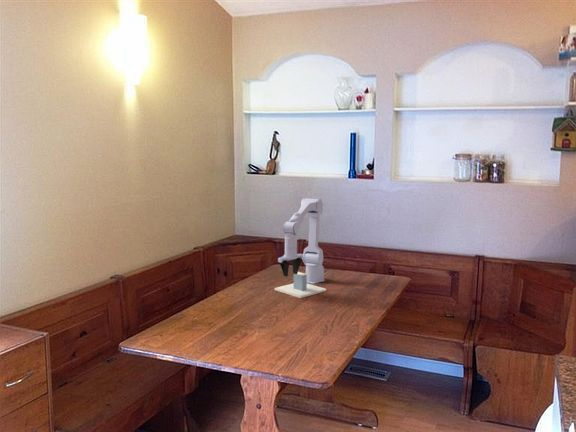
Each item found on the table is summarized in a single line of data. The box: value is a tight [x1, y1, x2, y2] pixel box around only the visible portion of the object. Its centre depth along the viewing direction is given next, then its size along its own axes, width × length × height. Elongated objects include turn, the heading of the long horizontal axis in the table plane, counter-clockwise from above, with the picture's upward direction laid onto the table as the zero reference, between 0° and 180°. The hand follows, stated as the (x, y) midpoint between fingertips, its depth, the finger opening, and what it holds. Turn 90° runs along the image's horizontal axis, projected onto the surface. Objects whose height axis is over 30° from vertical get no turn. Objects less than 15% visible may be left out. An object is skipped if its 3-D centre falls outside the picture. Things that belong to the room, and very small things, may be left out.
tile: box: [274, 282, 327, 299], centre depth 259 cm, size 18×18×1 cm
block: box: [293, 271, 308, 291], centre depth 257 cm, size 3×6×8 cm, turn 44°
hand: (290, 274), depth 251 cm, fingers open, 6 cm apart
